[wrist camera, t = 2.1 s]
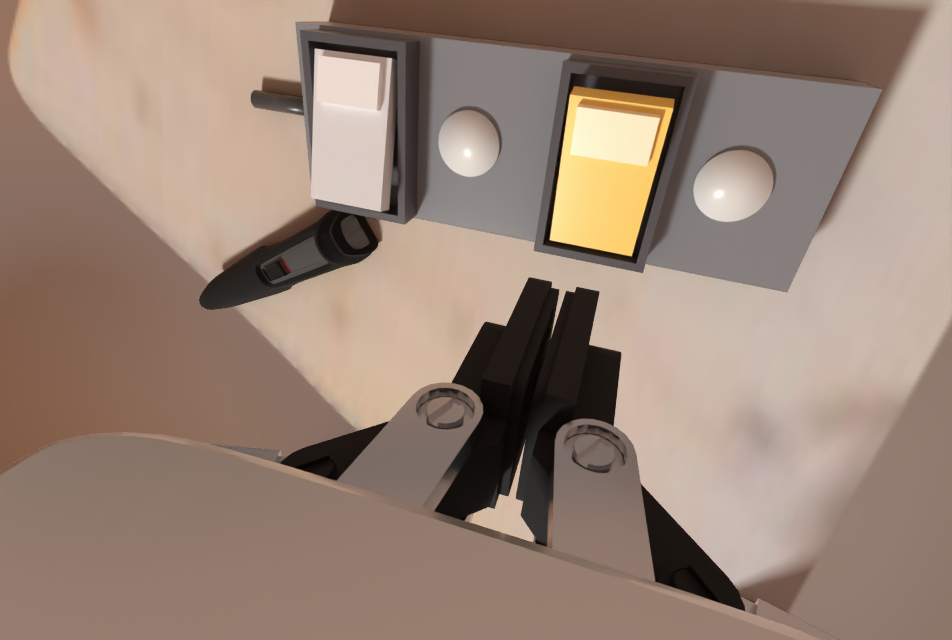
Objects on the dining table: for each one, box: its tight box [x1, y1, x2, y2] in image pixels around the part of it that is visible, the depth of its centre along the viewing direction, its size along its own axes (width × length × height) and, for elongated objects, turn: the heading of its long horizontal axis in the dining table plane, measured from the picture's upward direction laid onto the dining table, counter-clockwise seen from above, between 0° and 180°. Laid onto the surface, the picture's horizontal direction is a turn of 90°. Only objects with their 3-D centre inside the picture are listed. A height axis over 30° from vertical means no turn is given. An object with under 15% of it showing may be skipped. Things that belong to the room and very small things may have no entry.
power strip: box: [251, 22, 882, 292], centre depth 26 cm, size 9×31×5 cm, turn 85°
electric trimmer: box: [199, 210, 378, 310], centre depth 36 cm, size 4×16×3 cm, turn 117°
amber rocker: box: [550, 86, 675, 256], centre depth 22 cm, size 7×4×1 cm, turn 175°
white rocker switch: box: [311, 49, 398, 212], centre depth 25 cm, size 7×4×1 cm, turn 175°
